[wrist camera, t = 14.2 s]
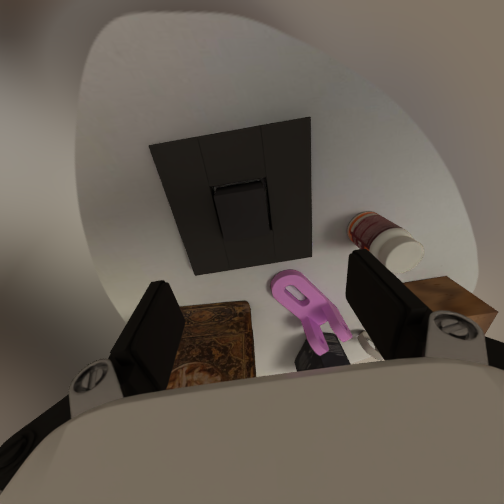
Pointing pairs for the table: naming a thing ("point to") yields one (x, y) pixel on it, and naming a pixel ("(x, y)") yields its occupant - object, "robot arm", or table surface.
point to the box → (329, 359)
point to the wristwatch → (367, 347)
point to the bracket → (309, 309)
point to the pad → (242, 210)
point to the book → (214, 345)
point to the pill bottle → (385, 241)
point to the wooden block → (452, 299)
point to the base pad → (237, 170)
